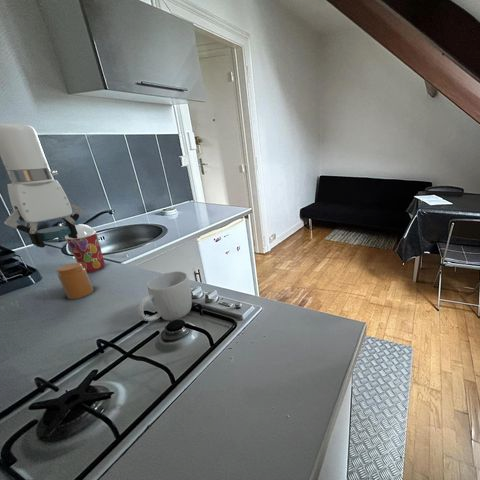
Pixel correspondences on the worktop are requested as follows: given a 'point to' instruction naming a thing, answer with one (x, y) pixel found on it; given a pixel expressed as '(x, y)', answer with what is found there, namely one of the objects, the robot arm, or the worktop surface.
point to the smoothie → (86, 248)
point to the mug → (168, 296)
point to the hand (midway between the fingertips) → (57, 241)
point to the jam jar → (75, 280)
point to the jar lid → (54, 232)
